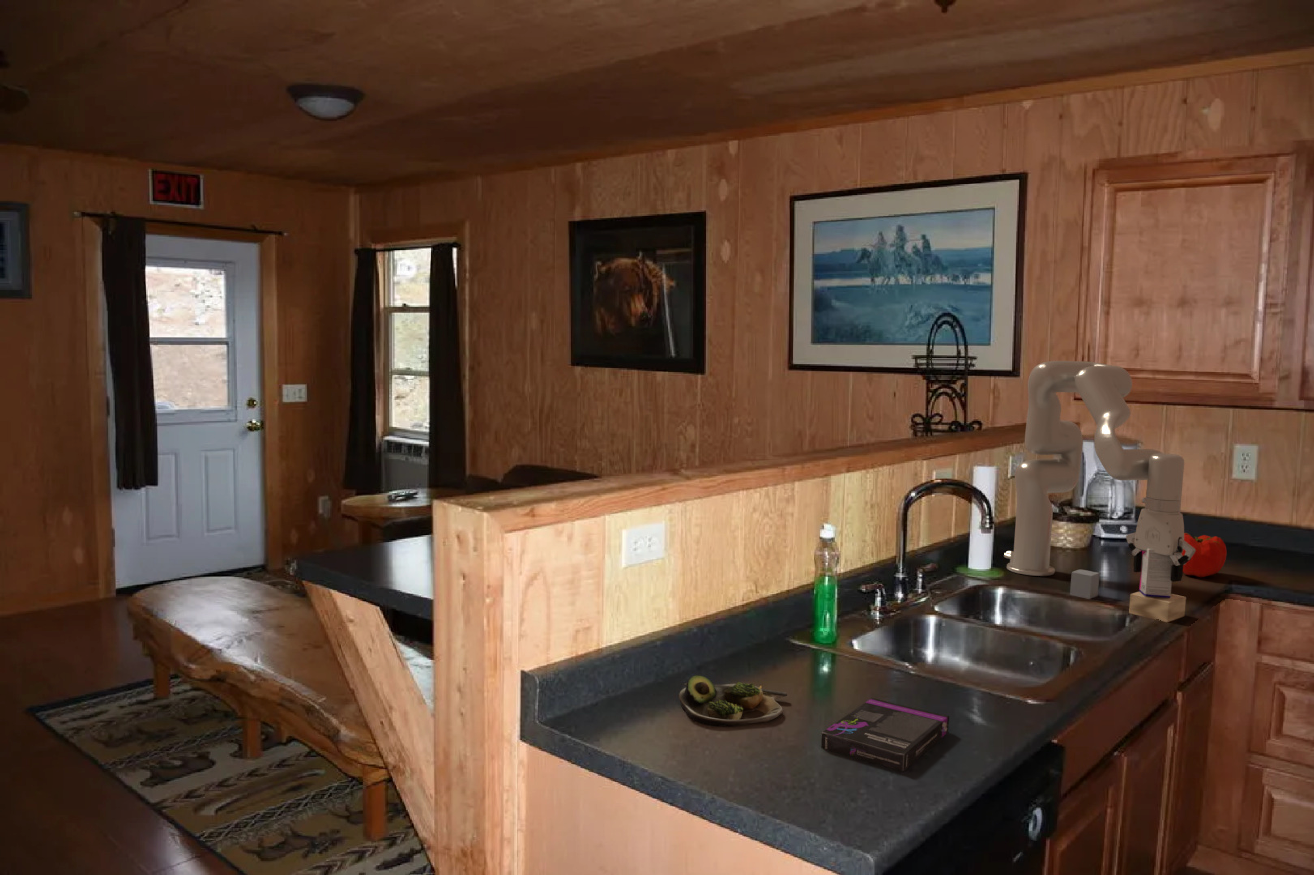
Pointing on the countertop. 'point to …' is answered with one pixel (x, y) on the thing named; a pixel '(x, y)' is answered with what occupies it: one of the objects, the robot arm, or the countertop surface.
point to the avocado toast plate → (727, 702)
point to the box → (886, 733)
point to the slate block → (1084, 584)
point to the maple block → (1157, 606)
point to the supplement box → (1155, 575)
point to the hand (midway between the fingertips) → (1157, 576)
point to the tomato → (1205, 555)
